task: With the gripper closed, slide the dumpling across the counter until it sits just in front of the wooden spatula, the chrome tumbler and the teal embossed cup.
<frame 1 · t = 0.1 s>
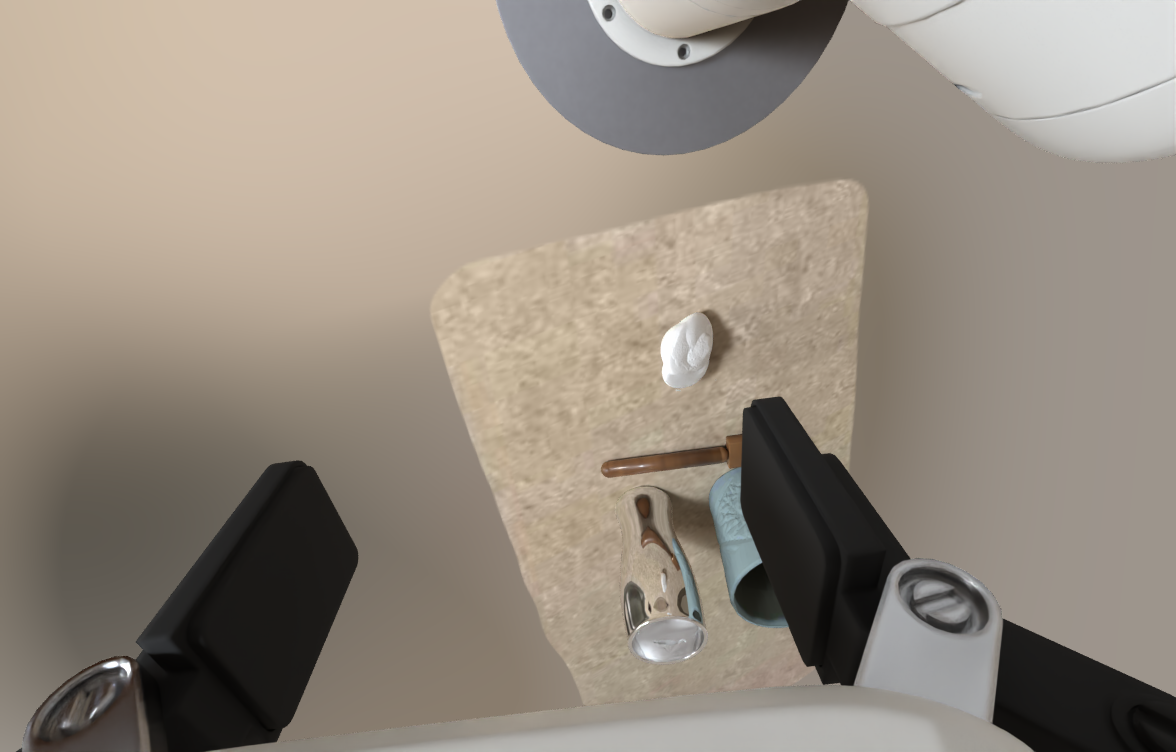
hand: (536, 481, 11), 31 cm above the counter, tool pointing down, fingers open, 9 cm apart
wooden spatula: (687, 453, 51), on the counter
chrome tumbler: (642, 505, 54), on the counter
teal embossed cup: (745, 492, 54), on the counter
dumpling: (682, 342, 44), on the counter
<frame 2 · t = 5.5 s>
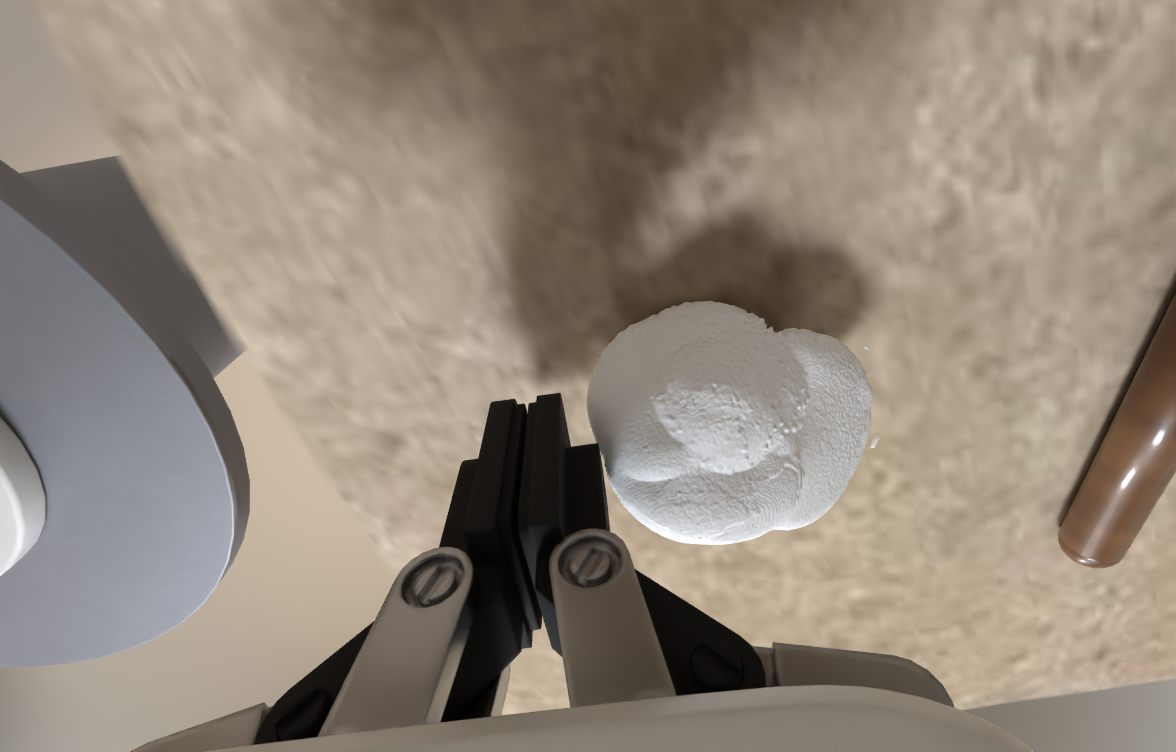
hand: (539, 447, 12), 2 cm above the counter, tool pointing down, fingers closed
dumpling: (711, 372, 14), on the counter, touching gripper
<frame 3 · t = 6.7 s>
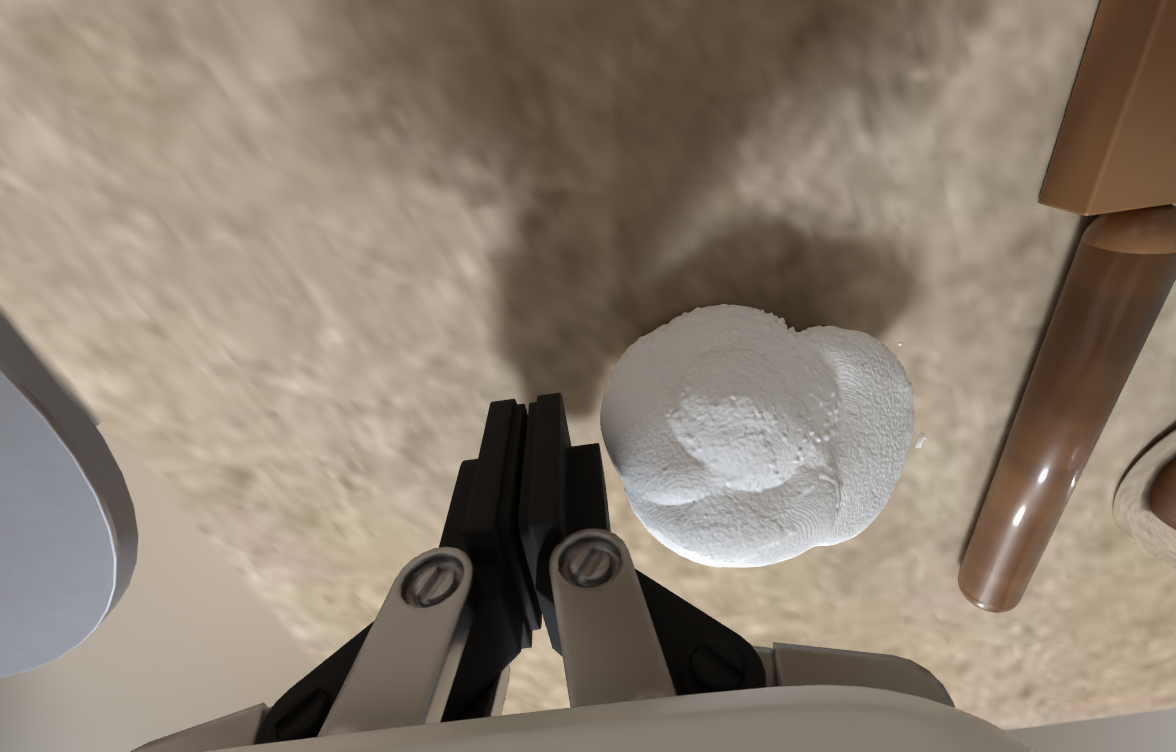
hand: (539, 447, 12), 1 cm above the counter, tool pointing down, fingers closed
wooden spatula: (1052, 350, 13), on the counter
dumpling: (733, 378, 13), on the counter, touching gripper
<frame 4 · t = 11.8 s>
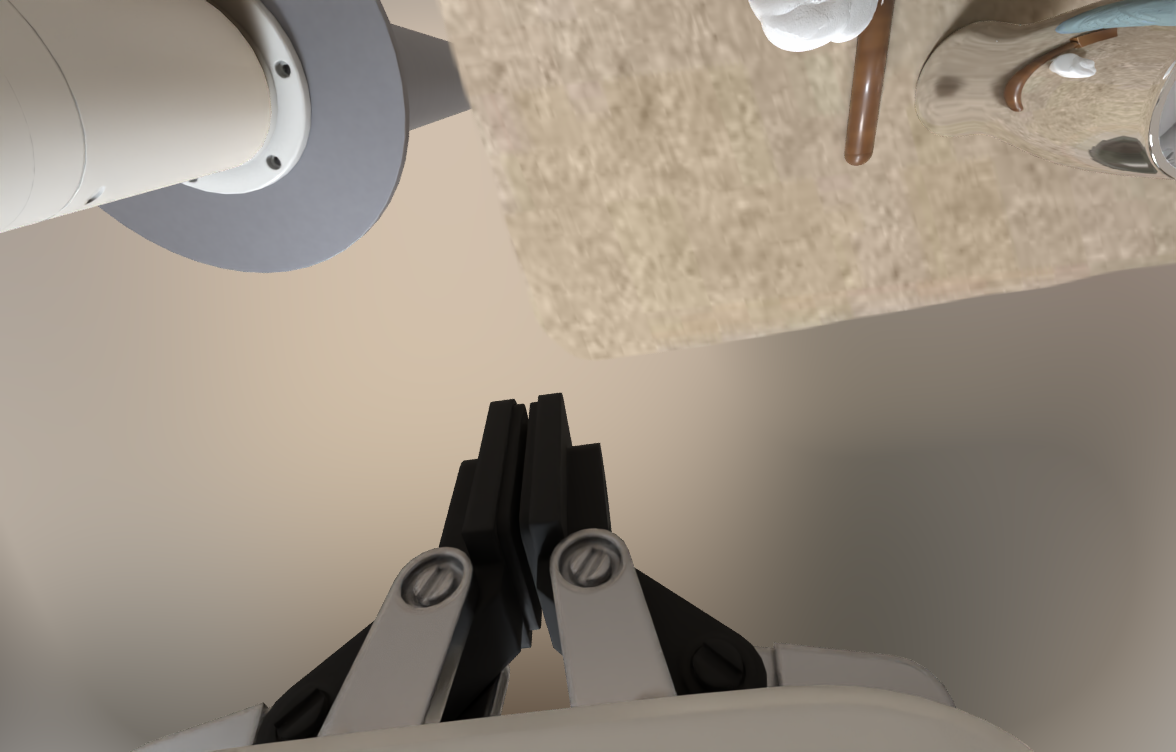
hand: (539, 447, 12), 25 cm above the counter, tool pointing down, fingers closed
chrome tumbler: (962, 81, 31), on the counter
dumpling: (800, 0, 29), on the counter
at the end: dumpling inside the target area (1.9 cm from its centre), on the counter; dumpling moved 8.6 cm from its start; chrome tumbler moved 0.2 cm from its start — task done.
